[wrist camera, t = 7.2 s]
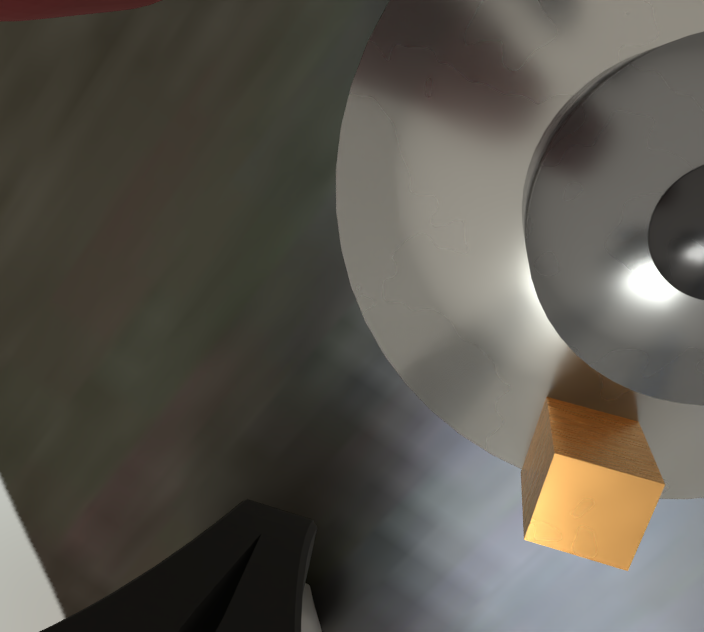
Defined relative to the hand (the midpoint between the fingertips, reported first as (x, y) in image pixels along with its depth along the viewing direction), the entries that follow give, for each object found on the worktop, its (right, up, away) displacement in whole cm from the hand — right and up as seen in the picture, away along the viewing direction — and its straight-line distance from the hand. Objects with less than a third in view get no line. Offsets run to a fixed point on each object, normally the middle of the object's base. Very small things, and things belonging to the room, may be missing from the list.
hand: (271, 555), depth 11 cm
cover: (+9, +7, +4) cm, 12 cm away
